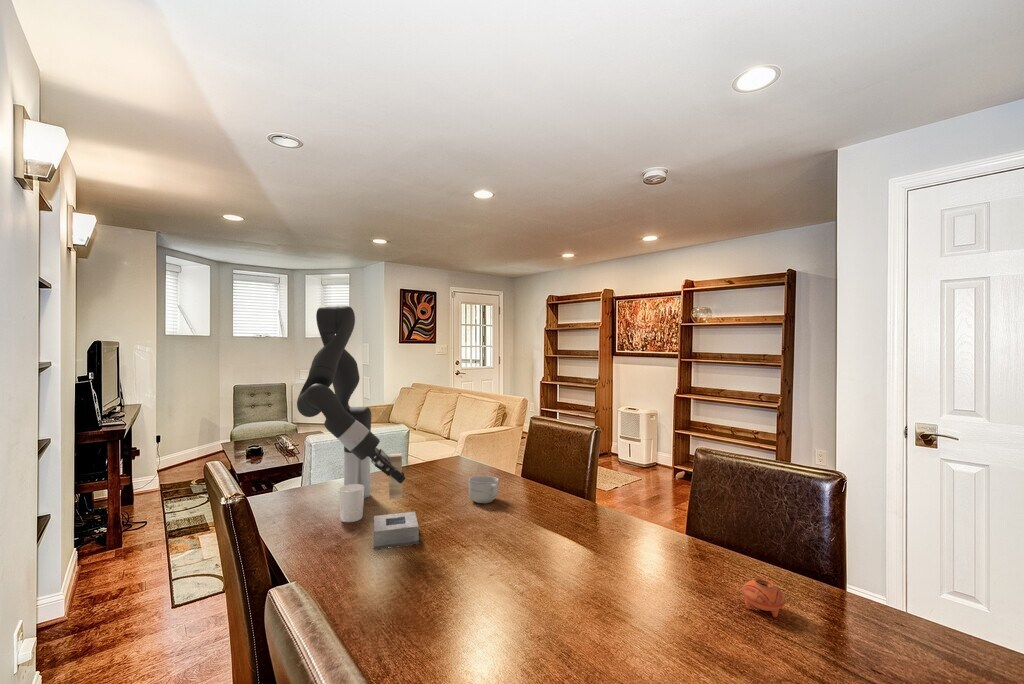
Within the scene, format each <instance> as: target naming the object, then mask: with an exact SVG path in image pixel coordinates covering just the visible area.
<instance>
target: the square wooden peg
mask: <svg viewBox="0 0 1024 684" xmlns="http://www.w3.org/2000/svg"><path fill="white" fill-rule="evenodd" d="M388 456H389V460H390V461H391V464H392V465H393V466H394V467H396V469H397V470H398V471H399V472H400V473H401V474H402V472H403V469H402V468H403V467H402V465H403V456H402V453H389V454H388ZM389 470H390V468H389ZM402 483H403V482H402ZM402 483H399V482H397V481H396V480H395V479H394V478H393V477H392V476H388V488H389V489H388V497H389V500H393V499H402V497H403V496H402V494H403V488H402V486H403V484H402Z"/></svg>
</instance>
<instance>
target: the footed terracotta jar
mask: <svg viewBox="0 0 1024 684" xmlns="http://www.w3.org/2000/svg"><path fill="white" fill-rule="evenodd" d="M741 592H742V594H743V596H744V603H745V607H746V608H747V609H748V610H750V609H751V606H754V607H755V608H757V609H759V610H762V611H766V612H767V611H768V612H771V614H772V618H777V617H778V616H779V615H778V614H779V611H780V609H782V608H783V607H784V606H785V603H786V597H785V595H784V594H783V592H782V590H781V589H779V587H778V586H776V585H775V584H774V583H773V582H772V581H770V580H769V579H765V578H762V577H755V578H754V579H750V580H748V581H746V582H745V583H744V585H743V586H742V588H741Z"/></svg>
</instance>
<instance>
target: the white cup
mask: <svg viewBox="0 0 1024 684" xmlns="http://www.w3.org/2000/svg"><path fill="white" fill-rule="evenodd" d="M364 502H365V499H364V485H361V484H350V485H345V486H344V485H342V486H339V488H338V504H339V505H338V506H339V515H340V517H339V520H340V519H341V520H340V522H343V523H354V522H357V521H360V520H362V518H363V516H364V514H363V513H364V505H365V504H364Z"/></svg>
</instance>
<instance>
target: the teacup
mask: <svg viewBox="0 0 1024 684" xmlns="http://www.w3.org/2000/svg"><path fill="white" fill-rule="evenodd" d="M498 494H499V478H498V477H495V476H492V475H491V476H490V475H475V476H471V477H469V478H468V496H469V498H470V499H471V500H473V502H475V503H477V504H488V503H492V502H493V501H494V500H495V499H496V498H497V496H498Z"/></svg>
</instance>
